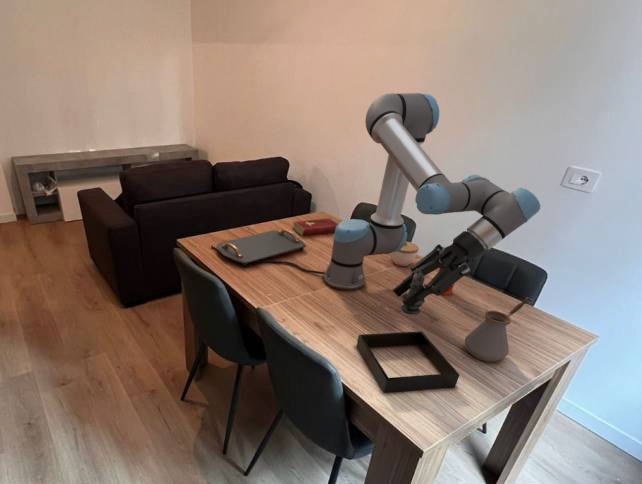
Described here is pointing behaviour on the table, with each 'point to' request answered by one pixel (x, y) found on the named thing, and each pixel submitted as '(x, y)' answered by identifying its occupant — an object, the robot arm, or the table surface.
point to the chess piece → (415, 285)
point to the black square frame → (409, 383)
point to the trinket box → (405, 254)
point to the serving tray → (260, 246)
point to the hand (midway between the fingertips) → (400, 299)
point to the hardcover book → (315, 227)
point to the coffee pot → (491, 335)
